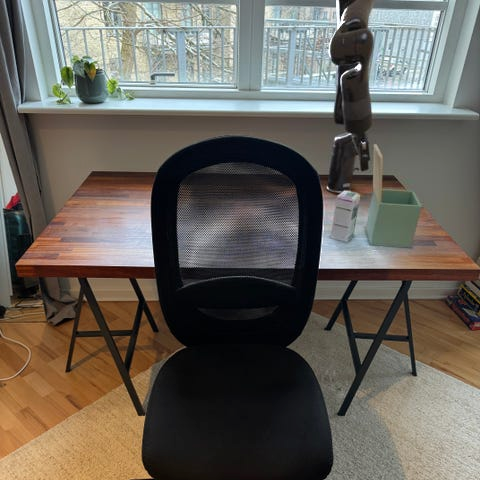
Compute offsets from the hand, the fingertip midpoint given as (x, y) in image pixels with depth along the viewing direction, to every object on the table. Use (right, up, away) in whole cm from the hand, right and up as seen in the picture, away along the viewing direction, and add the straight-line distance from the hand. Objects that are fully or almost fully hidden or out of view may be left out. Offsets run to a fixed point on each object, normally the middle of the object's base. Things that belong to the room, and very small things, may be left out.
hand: (361, 161), depth 136 cm
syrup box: (-3, -20, +13) cm, 24 cm away
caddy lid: (+5, -3, +1) cm, 6 cm away
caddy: (+12, -20, +13) cm, 27 cm away
